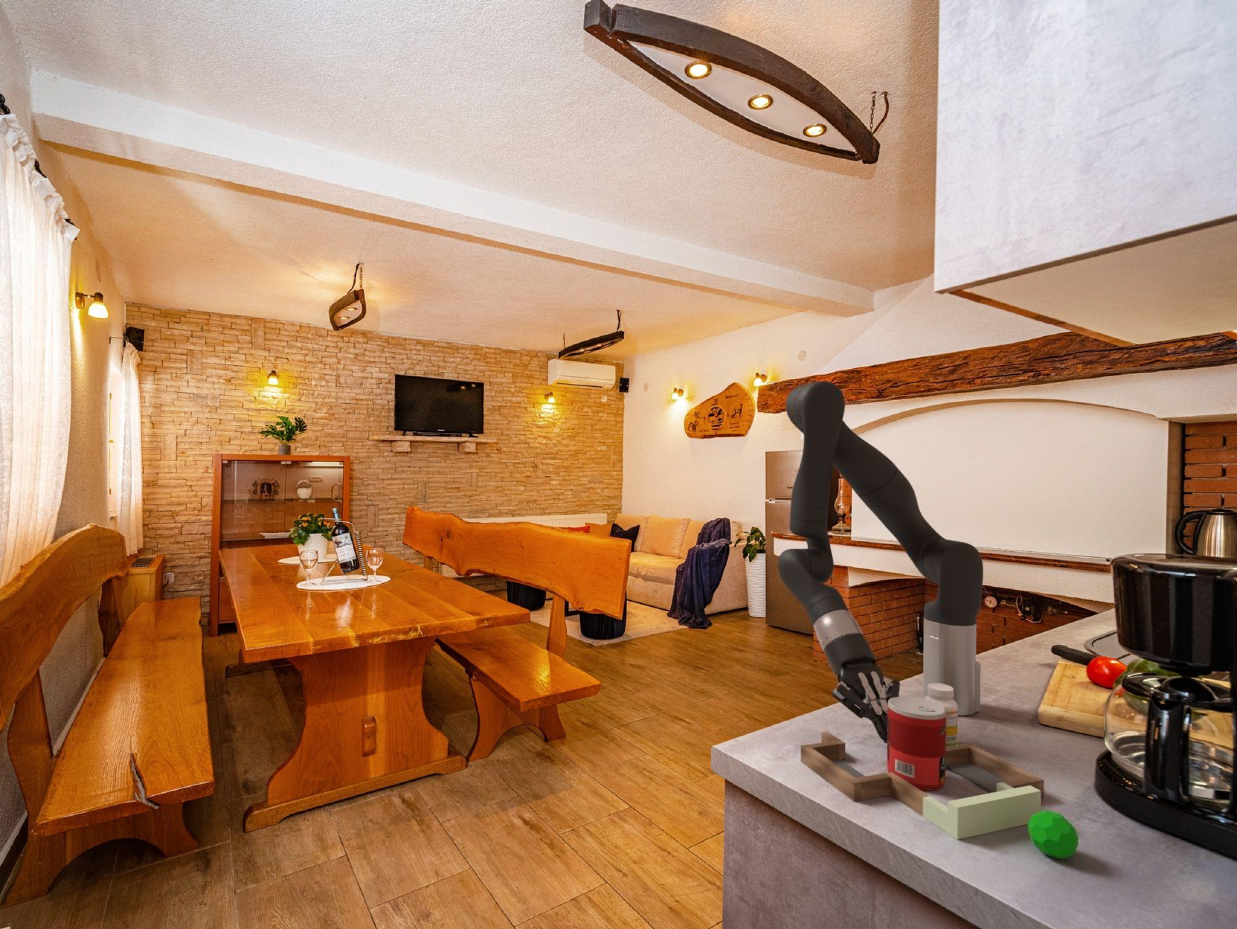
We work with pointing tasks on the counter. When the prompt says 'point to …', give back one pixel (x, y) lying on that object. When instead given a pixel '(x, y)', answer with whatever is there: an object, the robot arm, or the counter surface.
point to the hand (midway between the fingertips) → (892, 740)
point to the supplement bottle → (944, 698)
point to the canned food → (917, 741)
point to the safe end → (984, 811)
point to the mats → (964, 770)
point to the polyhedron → (1053, 834)
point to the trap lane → (893, 785)
